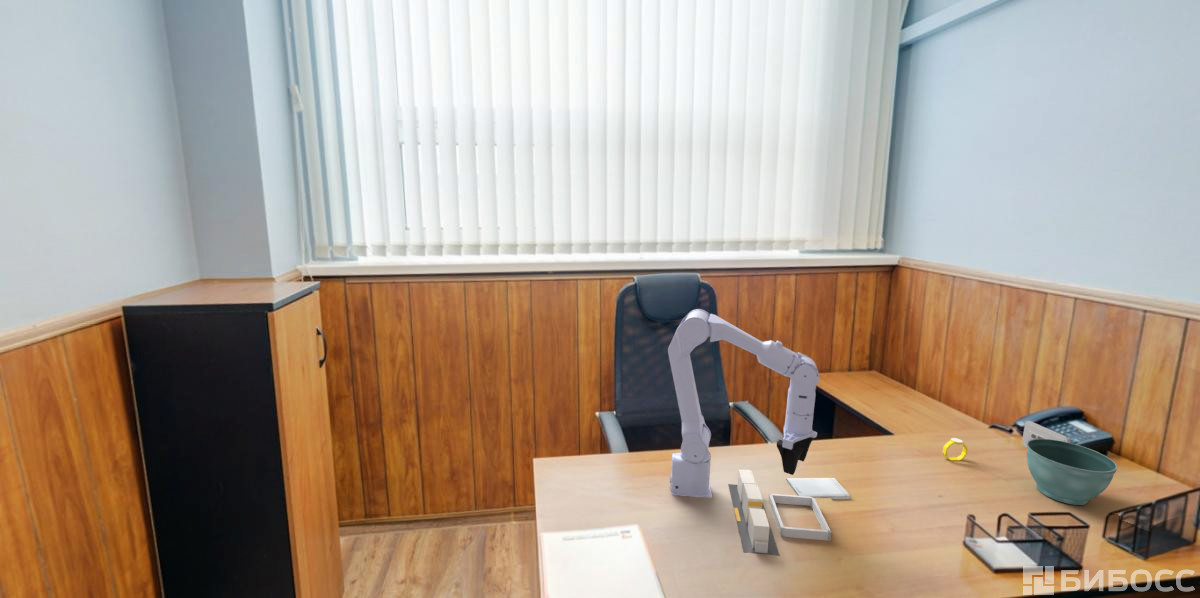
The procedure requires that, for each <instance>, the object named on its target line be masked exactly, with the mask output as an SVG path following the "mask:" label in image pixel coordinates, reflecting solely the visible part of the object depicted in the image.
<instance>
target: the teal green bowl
mask: <svg viewBox="0 0 1200 598" xmlns="http://www.w3.org/2000/svg"><path fill="white" fill-rule="evenodd" d="M1026 450H1027V451H1026V464H1027V466H1028V467H1027V468H1028V470H1029V473H1030V475H1031V478H1032V479H1033V480H1034V482H1035V484H1036V485H1035V486H1036V489H1037V490H1038V491H1039V492H1040V493H1042V494H1043V495H1044V496H1046V497H1047V498H1050V499H1053V500H1054V501H1058V502H1061V503H1065V504H1069V505H1075V506H1084V505H1087V504H1088V503H1089V501H1090V500H1091V499H1093V498H1096V497H1097V496H1100V495H1101V494H1102V493H1103V492H1104V491H1105V490H1106V489H1107V488H1108V487H1109V485H1110V484H1111V483H1112V480H1113V478H1114V475H1115V474H1116V472H1117V469H1118V464H1117V463H1116V462H1115V461H1114V460H1113V459H1111V458H1109V456H1106V455H1105V454H1104V453H1103V454H1102V453H1100V452H1098V451H1096V450H1094V449H1091V448H1088V447H1086V446H1083V445H1080V444H1075V443H1071V442H1070V443H1069V442H1064V441H1059V440H1052V439H1044V438H1042V439H1032V440H1029V441H1028V442H1027V448H1026Z"/></svg>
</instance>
